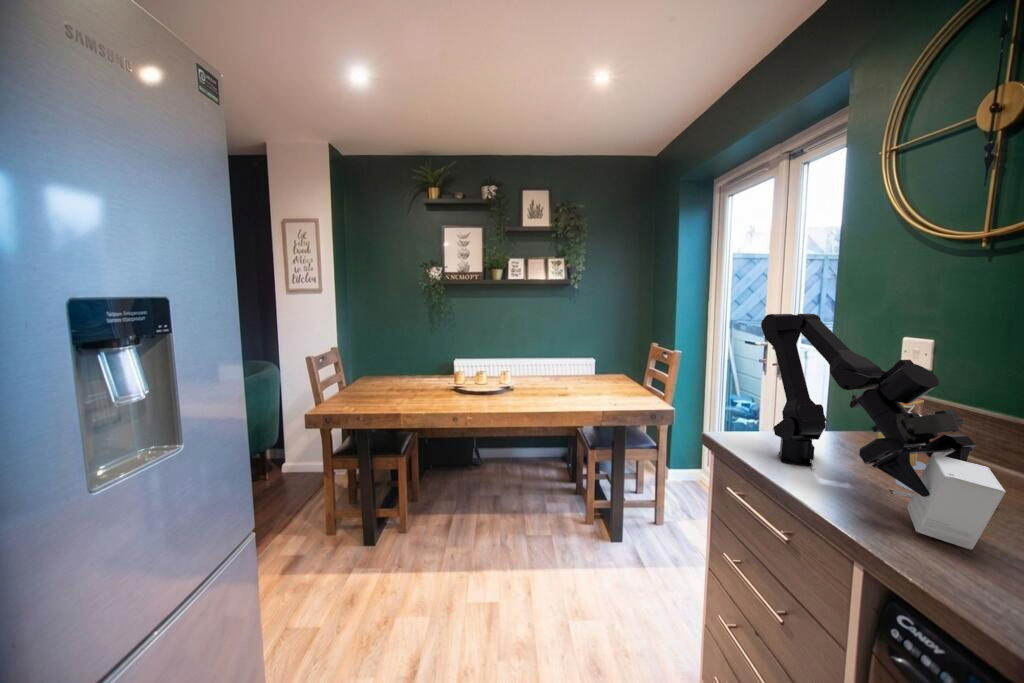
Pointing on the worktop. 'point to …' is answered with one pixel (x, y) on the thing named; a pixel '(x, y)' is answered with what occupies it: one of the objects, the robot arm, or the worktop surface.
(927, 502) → the supplement box
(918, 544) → the worktop surface
